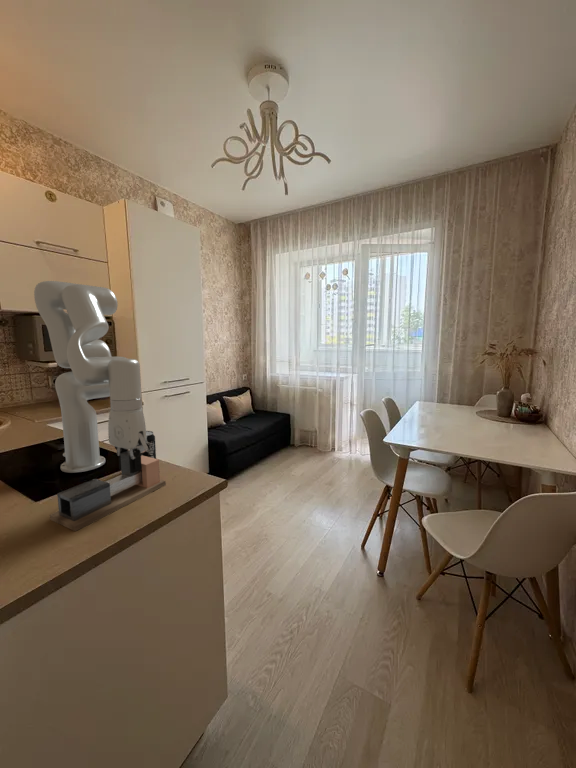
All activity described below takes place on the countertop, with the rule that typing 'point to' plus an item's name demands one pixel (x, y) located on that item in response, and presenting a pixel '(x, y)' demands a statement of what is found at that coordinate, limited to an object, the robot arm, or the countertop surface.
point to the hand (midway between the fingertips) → (130, 469)
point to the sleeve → (84, 499)
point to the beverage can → (150, 445)
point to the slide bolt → (124, 476)
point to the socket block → (149, 471)
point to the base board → (108, 506)
